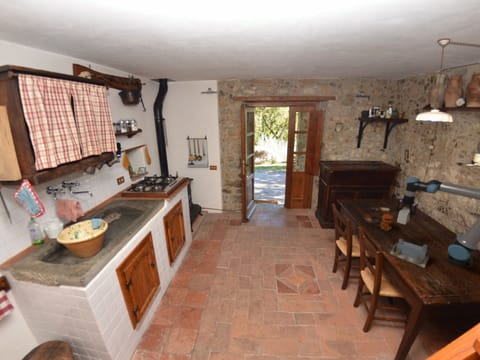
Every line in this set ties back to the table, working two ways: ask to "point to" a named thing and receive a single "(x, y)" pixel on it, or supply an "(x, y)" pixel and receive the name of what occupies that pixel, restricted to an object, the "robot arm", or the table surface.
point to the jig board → (418, 262)
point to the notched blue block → (411, 250)
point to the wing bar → (403, 215)
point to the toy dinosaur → (386, 222)
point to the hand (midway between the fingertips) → (403, 219)
